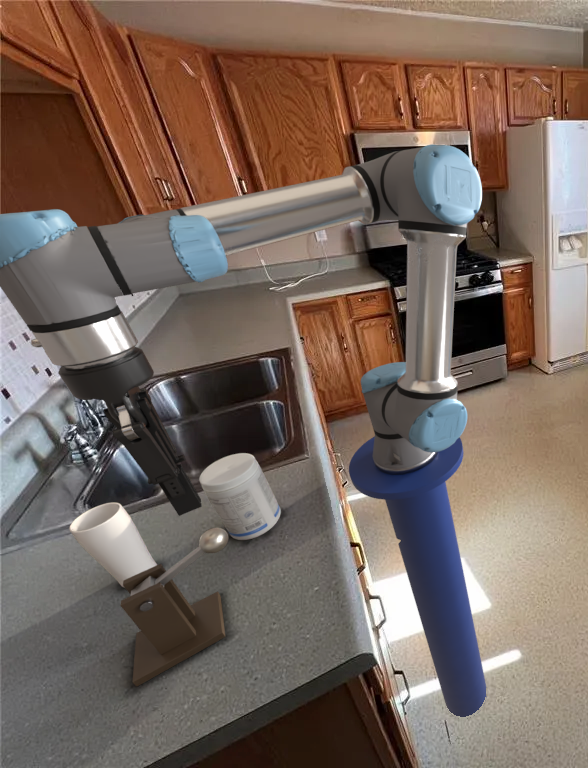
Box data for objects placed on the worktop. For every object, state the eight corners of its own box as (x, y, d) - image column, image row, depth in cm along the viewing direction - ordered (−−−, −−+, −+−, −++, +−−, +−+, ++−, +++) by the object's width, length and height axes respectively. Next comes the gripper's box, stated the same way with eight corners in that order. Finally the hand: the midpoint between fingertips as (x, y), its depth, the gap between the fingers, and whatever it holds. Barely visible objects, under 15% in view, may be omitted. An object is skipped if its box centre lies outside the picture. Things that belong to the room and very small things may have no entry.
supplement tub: (254, 504, 90) (227, 450, 83) (292, 508, 88) (267, 453, 81) (218, 540, 81) (184, 483, 74) (259, 545, 79) (228, 487, 72)
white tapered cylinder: (109, 585, 74) (59, 525, 67) (151, 556, 79) (109, 497, 72) (129, 599, 71) (79, 537, 64) (171, 567, 76) (130, 507, 69)
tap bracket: (220, 595, 70) (187, 543, 64) (225, 637, 64) (188, 582, 58) (139, 637, 65) (94, 584, 59) (136, 687, 58) (85, 633, 52)
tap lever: (232, 530, 65) (214, 518, 63) (235, 544, 63) (216, 532, 60) (149, 595, 61) (127, 585, 59) (148, 613, 58) (125, 603, 56)
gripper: (66, 349, 51) (158, 494, 62) (41, 387, 41) (156, 551, 52) (142, 332, 54) (216, 472, 65) (136, 363, 45) (224, 521, 56)
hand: (190, 507), depth 59 cm, fingers closed
